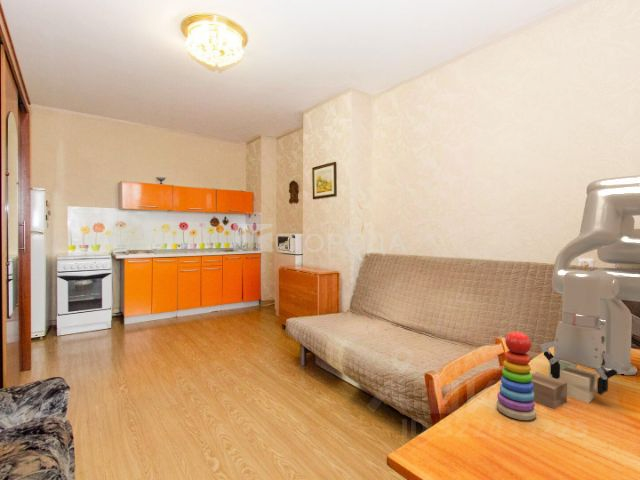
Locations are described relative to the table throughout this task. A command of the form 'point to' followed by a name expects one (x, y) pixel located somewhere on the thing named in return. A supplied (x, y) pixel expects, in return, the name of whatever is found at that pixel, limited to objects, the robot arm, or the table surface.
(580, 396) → the maple block
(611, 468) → the table surface
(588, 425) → the table surface
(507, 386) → the stacking toy
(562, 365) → the sage block
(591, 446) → the table surface
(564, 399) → the walnut base
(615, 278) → the robot arm
